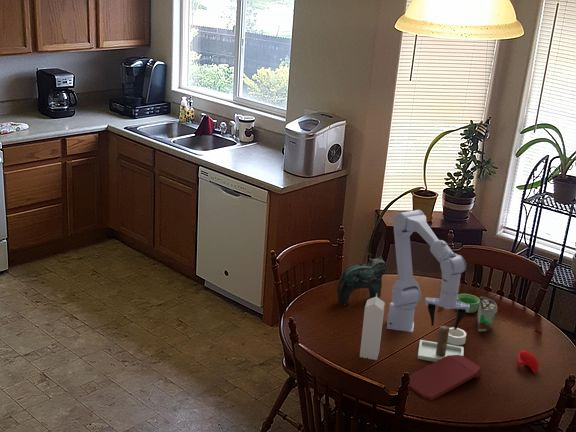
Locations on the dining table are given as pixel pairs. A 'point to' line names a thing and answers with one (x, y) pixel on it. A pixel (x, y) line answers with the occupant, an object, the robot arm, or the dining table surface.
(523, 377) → the dining table surface
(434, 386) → the dark red slab
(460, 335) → the cup
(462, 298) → the ramekin
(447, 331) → the dowel
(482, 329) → the food container
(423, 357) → the tray
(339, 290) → the ceramic cat
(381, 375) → the dining table surface
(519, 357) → the red helmet
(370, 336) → the milk
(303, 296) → the dining table surface
